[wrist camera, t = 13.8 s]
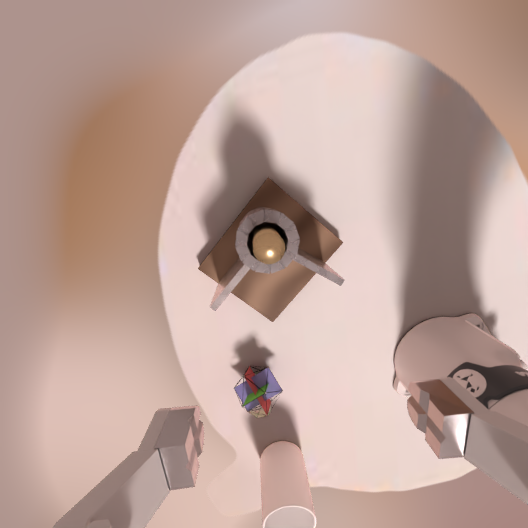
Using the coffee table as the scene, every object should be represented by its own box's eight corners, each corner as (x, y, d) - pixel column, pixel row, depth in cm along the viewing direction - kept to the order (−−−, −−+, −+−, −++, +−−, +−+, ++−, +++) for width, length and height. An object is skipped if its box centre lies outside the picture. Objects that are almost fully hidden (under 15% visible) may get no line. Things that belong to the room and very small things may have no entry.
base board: (339, 240, 36) (343, 242, 35) (271, 317, 39) (272, 322, 38) (267, 178, 34) (268, 177, 32) (199, 265, 36) (197, 268, 35)
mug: (321, 467, 48) (339, 537, 38) (288, 488, 49) (297, 561, 39) (285, 431, 45) (295, 497, 35) (251, 454, 46) (251, 524, 36)
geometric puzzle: (221, 373, 39) (236, 428, 34) (256, 351, 38) (277, 404, 33) (243, 378, 44) (258, 426, 39) (274, 359, 44) (294, 405, 39)
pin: (278, 230, 34) (292, 246, 22) (264, 246, 35) (271, 270, 23) (261, 216, 33) (266, 225, 22) (248, 233, 34) (246, 251, 22)
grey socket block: (329, 255, 35) (354, 273, 27) (272, 320, 38) (278, 356, 29) (259, 197, 33) (262, 196, 24) (202, 270, 35) (186, 294, 26)
